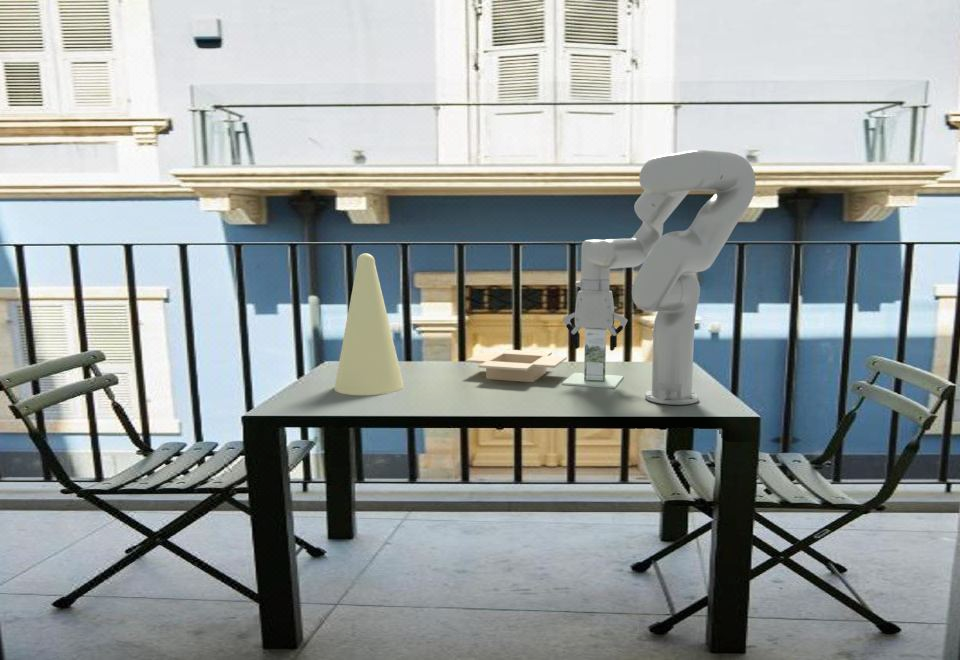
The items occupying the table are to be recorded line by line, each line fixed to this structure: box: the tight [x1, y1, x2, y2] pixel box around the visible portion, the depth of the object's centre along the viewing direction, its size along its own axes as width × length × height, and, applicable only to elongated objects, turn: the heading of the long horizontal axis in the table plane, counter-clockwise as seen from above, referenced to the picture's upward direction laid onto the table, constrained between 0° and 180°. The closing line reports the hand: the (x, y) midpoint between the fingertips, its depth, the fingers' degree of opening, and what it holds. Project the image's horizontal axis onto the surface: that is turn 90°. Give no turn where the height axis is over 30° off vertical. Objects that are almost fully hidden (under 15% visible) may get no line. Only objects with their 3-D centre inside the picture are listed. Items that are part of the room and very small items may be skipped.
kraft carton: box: [465, 349, 568, 383], centre depth 199 cm, size 26×26×5 cm
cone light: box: [333, 252, 405, 396], centre depth 187 cm, size 25×18×35 cm
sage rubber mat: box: [562, 372, 624, 389], centre depth 192 cm, size 14×14×1 cm
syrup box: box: [583, 328, 607, 381], centre depth 191 cm, size 6×6×14 cm
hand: (594, 348), depth 191 cm, fingers open, 9 cm apart
